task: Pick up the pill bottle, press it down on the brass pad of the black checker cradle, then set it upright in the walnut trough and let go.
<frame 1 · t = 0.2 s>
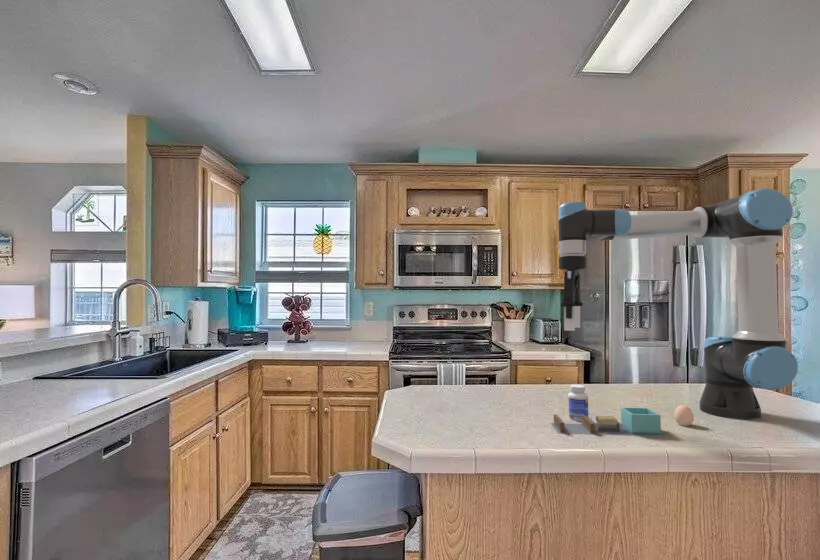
hand: (572, 329, 125), 26 cm above the countertop, fingers open, 13 cm apart
cradle base: (606, 429, 114), resting on mat
mat: (604, 430, 114), on the countertop
trough: (573, 428, 115), resting on mat
egg: (684, 426, 118), on the countertop
pill bottle: (578, 420, 124), on the countertop
pad: (606, 419, 114), point 3 cm above the countertop, slide at 0.0 cm
teal open box: (640, 430, 113), resting on mat
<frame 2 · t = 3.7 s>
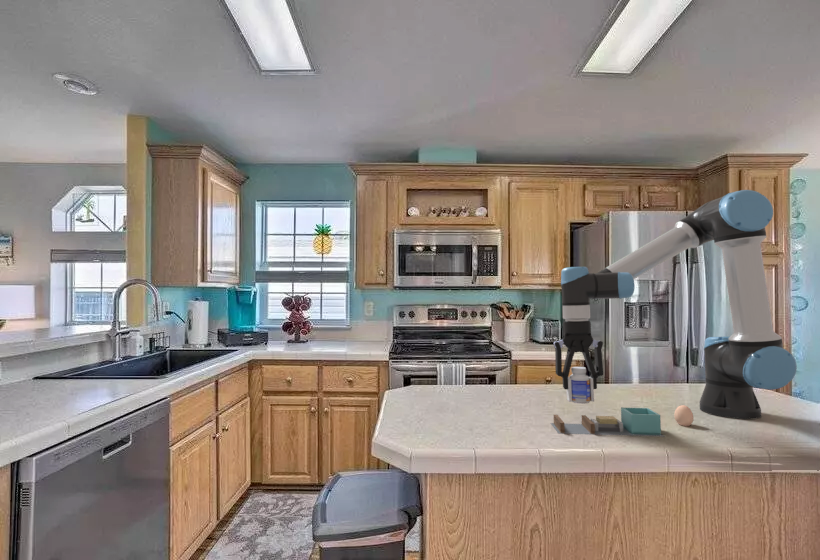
hand: (580, 400, 124), 6 cm above the countertop, fingers closed on pill bottle, 5 cm apart
pill bottle: (580, 402, 124), point 5 cm above the countertop, touching gripper
everything else where it was.
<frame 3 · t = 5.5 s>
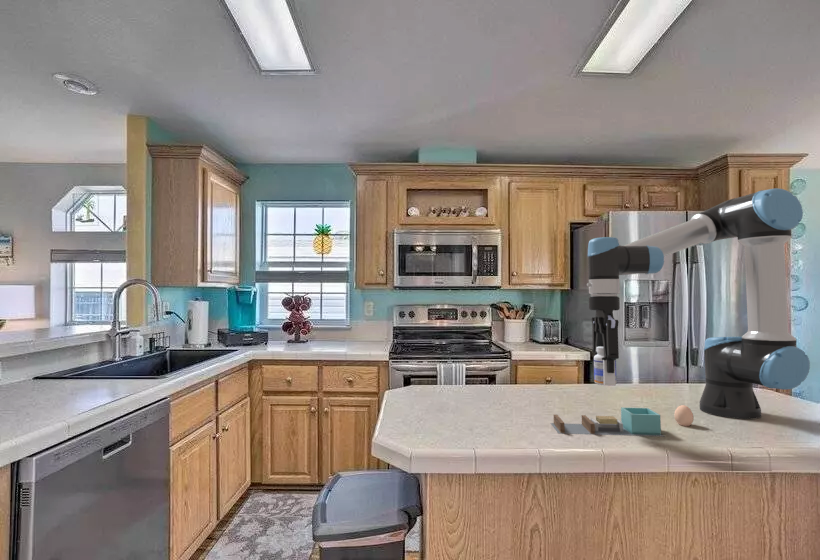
hand: (605, 382, 114), 13 cm above the countertop, fingers closed on pill bottle, 5 cm apart
pill bottle: (605, 384, 114), point 12 cm above the countertop, touching gripper
everything else where it was.
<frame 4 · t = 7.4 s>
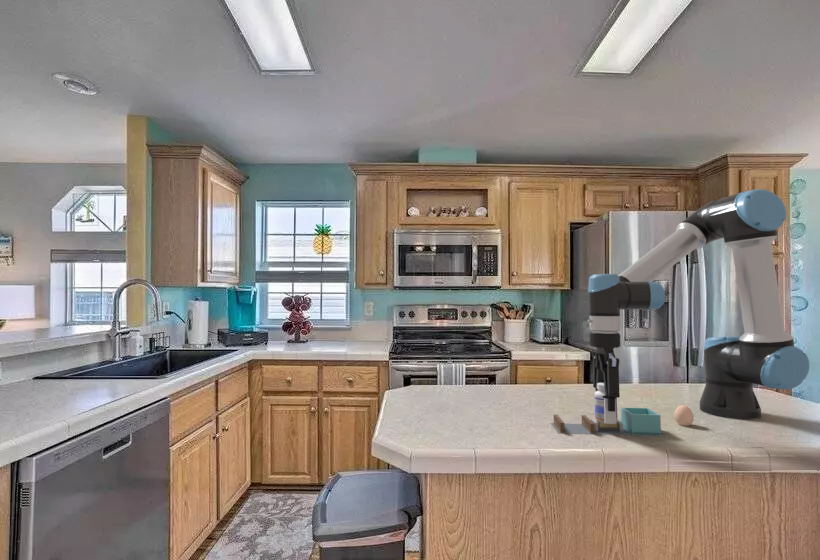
hand: (606, 419, 114), 3 cm above the countertop, fingers closed on pill bottle, 5 cm apart
pill bottle: (606, 421, 114), point 2 cm above the countertop, touching cradle base, gripper, pad
pad: (606, 423, 114), point 2 cm above the countertop, slide at -0.9 cm, touching cradle base, pill bottle
everything else where it was.
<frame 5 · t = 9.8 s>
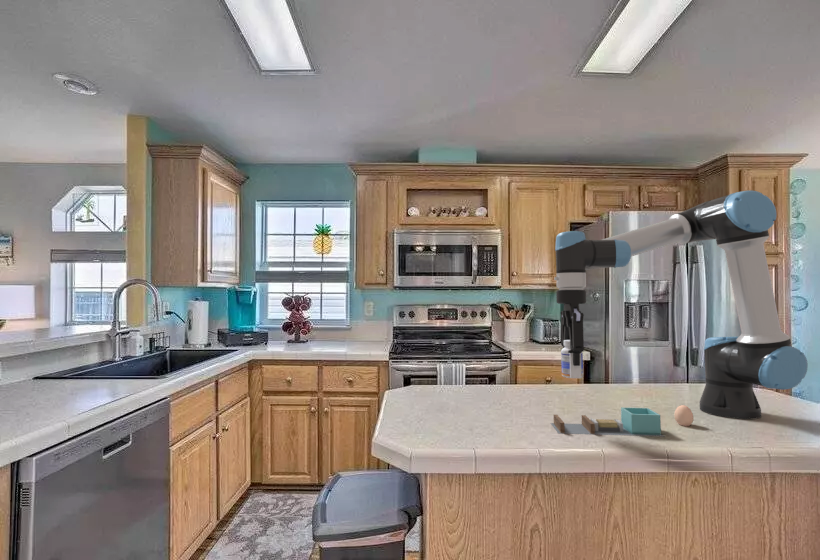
hand: (572, 375, 115), 14 cm above the countertop, fingers closed on pill bottle, 5 cm apart
pill bottle: (572, 377, 115), point 14 cm above the countertop, touching gripper
pad: (606, 423, 114), point 2 cm above the countertop, slide at -0.9 cm, touching cradle base
everything else where it was.
when the fingers open (2 cm above the countertop, at t = 12.3 s): pill bottle moves 1 cm, resting on mat.
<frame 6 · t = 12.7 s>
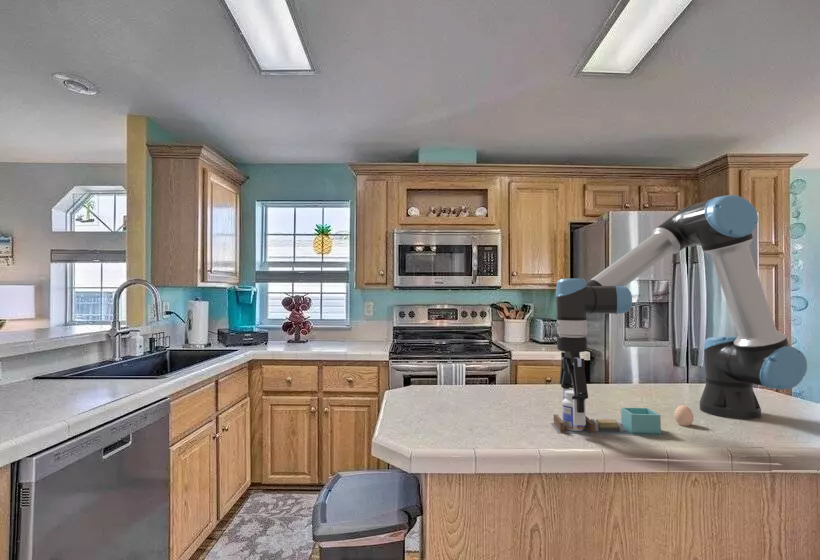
hand: (573, 418, 115), 3 cm above the countertop, fingers open, 11 cm apart
pill bottle: (573, 429, 114), resting on mat
everything else where it was.
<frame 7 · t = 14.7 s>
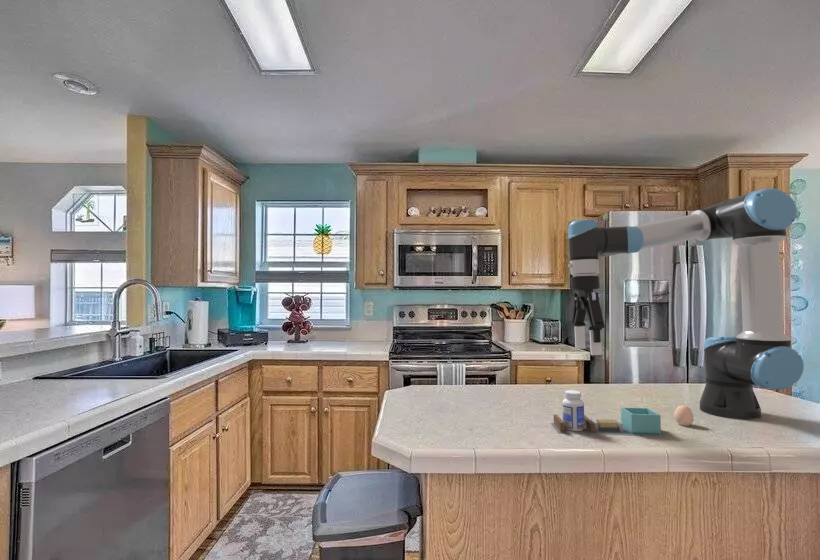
hand: (588, 351, 120), 20 cm above the countertop, fingers open, 13 cm apart
nothing on the countertop moved.
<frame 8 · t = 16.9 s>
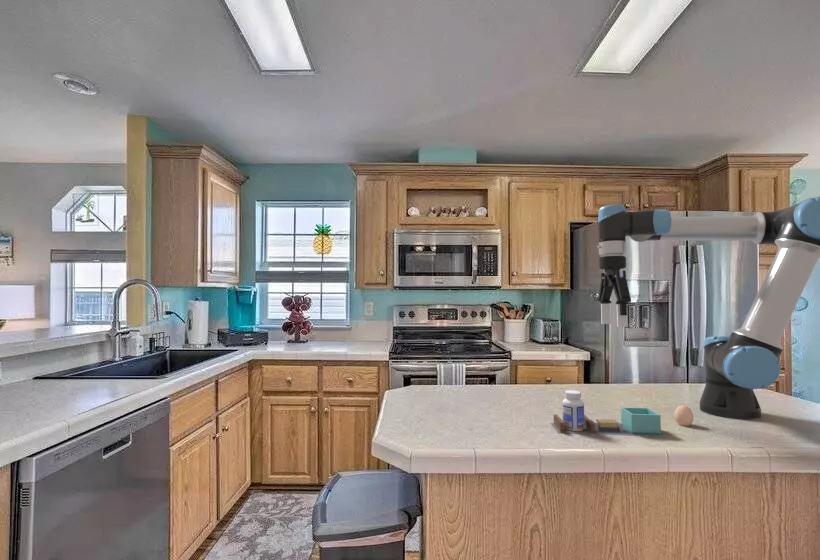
hand: (613, 325, 131), 27 cm above the countertop, fingers open, 13 cm apart
nothing on the countertop moved.
at the end: pill bottle inside the target area on the trough (0.1 cm from its centre), point 0.0 cm above the trough's base; pill bottle tilted 0°; the gripper is holding nothing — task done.
